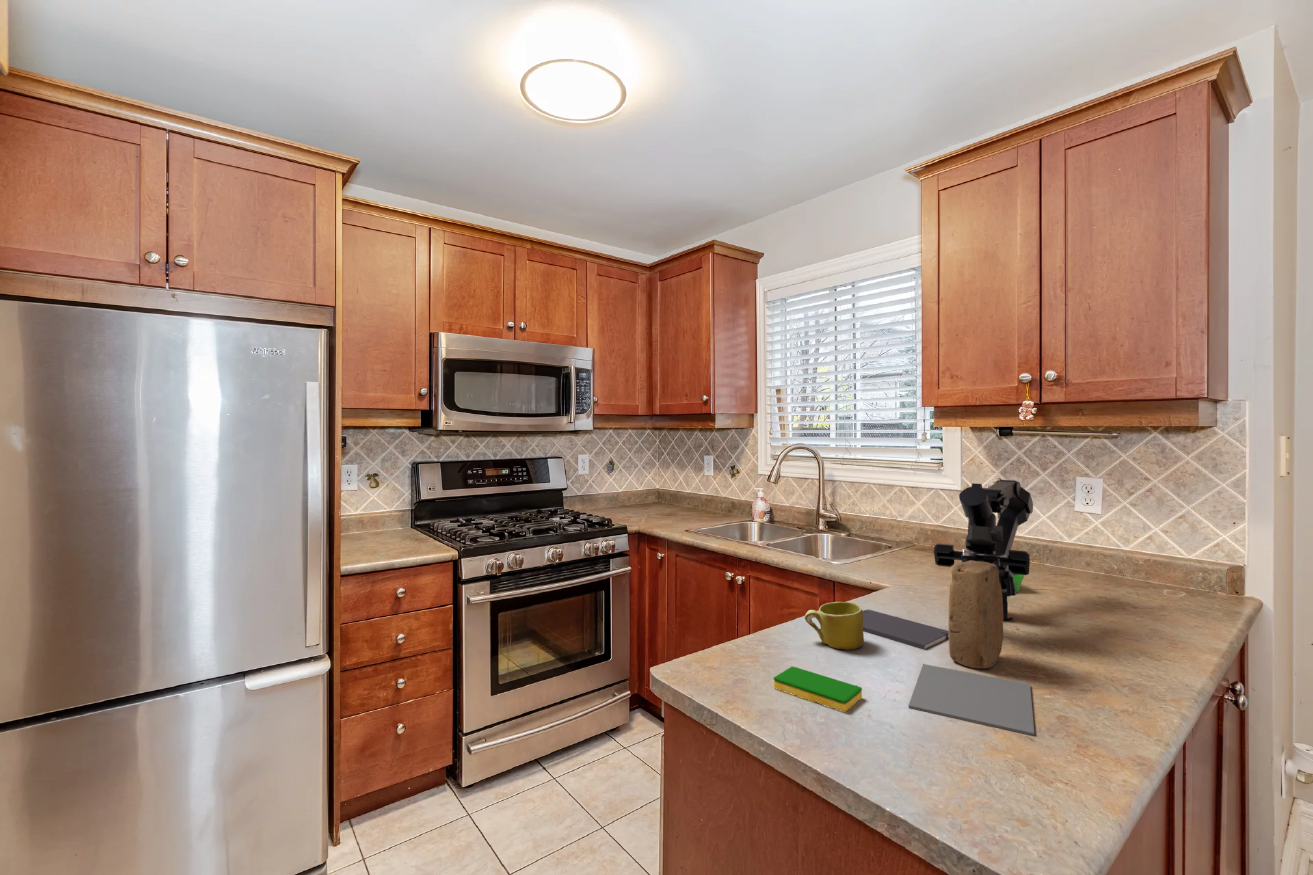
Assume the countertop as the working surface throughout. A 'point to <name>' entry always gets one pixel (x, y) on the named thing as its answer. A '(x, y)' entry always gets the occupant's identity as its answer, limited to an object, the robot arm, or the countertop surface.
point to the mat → (974, 698)
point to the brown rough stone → (975, 614)
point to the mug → (839, 624)
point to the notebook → (902, 630)
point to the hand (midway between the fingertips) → (979, 591)
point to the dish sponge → (818, 688)
